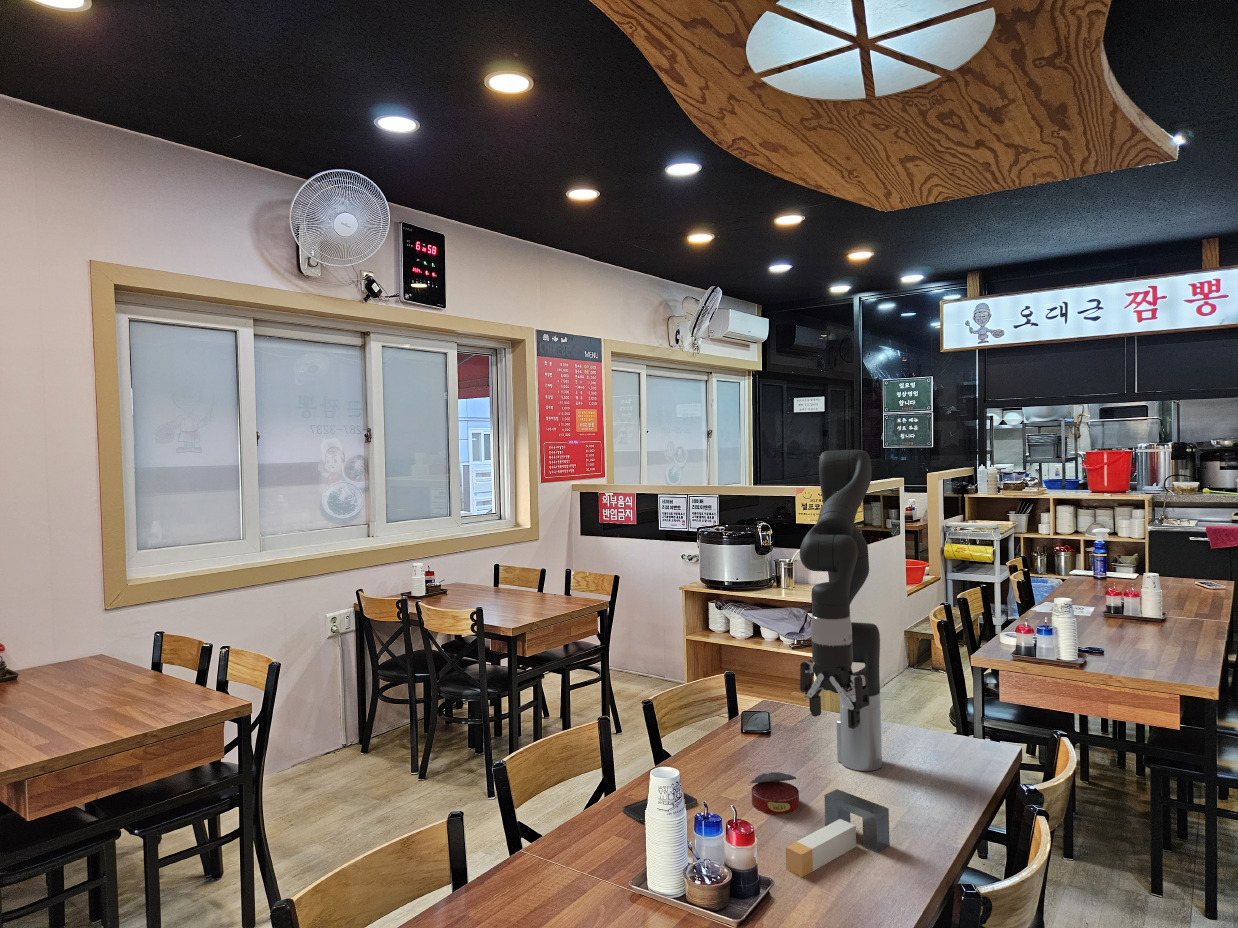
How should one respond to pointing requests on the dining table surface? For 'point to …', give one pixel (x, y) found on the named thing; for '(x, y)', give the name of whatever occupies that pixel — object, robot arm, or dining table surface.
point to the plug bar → (820, 847)
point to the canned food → (774, 794)
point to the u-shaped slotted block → (871, 813)
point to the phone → (638, 808)
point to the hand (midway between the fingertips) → (834, 721)
